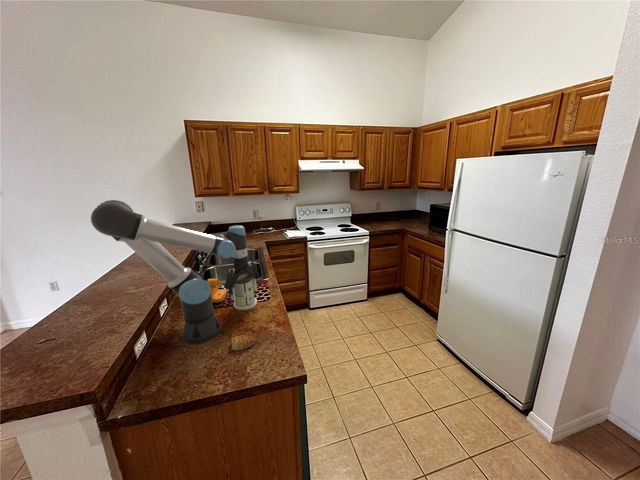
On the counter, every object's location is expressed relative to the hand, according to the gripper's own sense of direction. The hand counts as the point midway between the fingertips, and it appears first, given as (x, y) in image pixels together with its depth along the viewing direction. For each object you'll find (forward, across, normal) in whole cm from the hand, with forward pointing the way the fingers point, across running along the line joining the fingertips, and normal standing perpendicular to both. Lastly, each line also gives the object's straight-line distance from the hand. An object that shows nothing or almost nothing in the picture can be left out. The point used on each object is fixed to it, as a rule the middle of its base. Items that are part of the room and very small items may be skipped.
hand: (244, 294), depth 136 cm
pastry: (+6, -22, -26) cm, 34 cm away
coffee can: (+5, 0, 0) cm, 5 cm away
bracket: (+6, -5, +18) cm, 20 cm away
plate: (+6, 0, 0) cm, 6 cm away
